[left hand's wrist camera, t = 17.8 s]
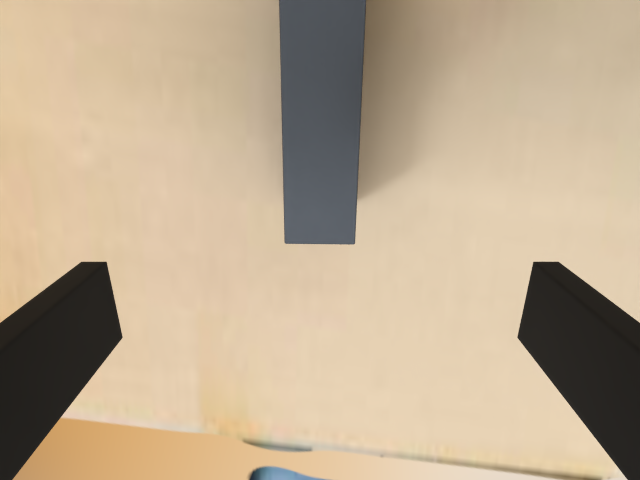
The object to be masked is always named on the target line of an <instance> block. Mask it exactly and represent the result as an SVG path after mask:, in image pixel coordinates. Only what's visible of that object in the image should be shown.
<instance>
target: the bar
mask: <svg viewBox="0 0 640 480" xmlns="http://www.w3.org/2000/svg"><path fill="white" fill-rule="evenodd" d="M279 13H280V57H281V101H282V145H283V189H284V234H285V243H286V244H355V231H356V209H357V187H358V165H359V144H360V122H361V100H362V78H363V57H364V35H365V13H366V0H279Z"/></svg>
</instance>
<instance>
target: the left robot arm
mask: <svg viewBox="0 0 640 480" xmlns="http://www.w3.org/2000/svg"><path fill="white" fill-rule="evenodd" d="M122 338H123V337H122V333H121V328H120V323H119V319H118V314H117V309H116V304H115V300H114V295H113V290H112V286H111V281H110V276H109V271H108V267H107V262H81V263H79V264H78V265H77V266H75V267H74V268H73V269H71V270H70V271H69V272H67V273H66V274H65V275H63V276H62V277H61V278H59V279H58V280H57V281H55V282H54V283H53V284H51V285H50V286H49V287H47V288H46V289H45V290H43V291H42V292H41V293H39V294H38V295H37V296H35V297H34V298H33V299H31V300H30V301H29V302H27V303H26V304H25V305H23V306H22V307H21V308H19V309H18V310H17V311H15V312H14V313H13V314H11V315H10V316H9V317H7V318H6V319H5V320H4V321H2V322H1V323H0V480H12V479H13V478H14V477H15V476H16V474H17V473H18V472H19V470H20V469H21V468H22V466H23V465H24V464H25V463H26V461H27V460H28V459H29V457H30V456H31V455H32V454H33V452H34V451H35V450H36V448H37V447H38V446H39V445H40V443H41V442H42V441H43V439H44V438H45V437H46V436H47V434H48V433H49V432H50V430H51V429H52V428H53V427H54V425H55V424H56V423H57V421H58V420H59V419H60V417H61V416H62V415H63V414H64V412H65V411H66V410H67V408H68V407H69V406H70V405H71V403H72V402H73V401H74V399H75V398H76V397H77V396H78V394H79V393H80V392H81V390H82V389H83V388H84V387H85V385H86V384H87V383H88V381H89V380H90V379H91V378H92V376H93V375H94V374H95V372H96V371H97V370H98V368H99V367H100V366H101V365H102V363H103V362H104V361H105V359H106V358H107V357H108V356H109V354H110V353H111V352H112V350H113V349H114V348H115V347H116V345H117V344H118V343H119V341H120V340H121V339H122ZM517 338H518V339H519V340H520V341H521V343H522V344H523V345H524V347H525V348H526V349H527V350H528V352H529V353H530V354H531V356H532V357H533V358H534V359H535V361H536V362H537V363H538V365H539V366H540V367H541V368H542V370H543V371H544V372H545V374H546V375H547V376H548V378H549V379H550V380H551V381H552V383H553V384H554V385H555V387H556V388H557V389H558V390H559V392H560V393H561V394H562V396H563V397H564V398H565V399H566V401H567V402H568V403H569V405H570V406H571V407H572V408H573V410H574V411H575V412H576V414H577V415H578V416H579V417H580V419H581V420H582V421H583V423H584V424H585V425H586V427H587V428H588V429H589V430H590V432H591V433H592V434H593V436H594V437H595V438H596V439H597V441H598V442H599V443H600V445H601V446H602V447H603V448H604V450H605V451H606V452H607V454H608V455H609V456H610V457H611V459H612V460H613V461H614V463H615V464H616V465H617V466H618V468H619V469H620V470H621V472H622V473H623V474H624V476H625V477H626V478H627V479H628V480H640V323H639V322H638V321H636V320H635V319H634V318H632V317H631V316H630V315H629V314H627V313H626V312H625V311H623V310H622V309H621V308H619V307H618V306H617V305H615V304H614V303H613V302H611V301H610V300H609V299H607V298H606V297H605V296H603V295H602V294H601V293H599V292H598V291H597V290H595V289H594V288H593V287H591V286H590V285H589V284H587V283H586V282H585V281H583V280H582V279H581V278H579V277H578V276H577V275H575V274H574V273H573V272H571V271H570V270H569V269H567V268H566V267H565V266H563V265H562V264H561V263H559V262H533V267H532V271H531V276H530V281H529V286H528V290H527V295H526V300H525V304H524V309H523V314H522V319H521V323H520V328H519V333H518V337H517Z"/></svg>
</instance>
